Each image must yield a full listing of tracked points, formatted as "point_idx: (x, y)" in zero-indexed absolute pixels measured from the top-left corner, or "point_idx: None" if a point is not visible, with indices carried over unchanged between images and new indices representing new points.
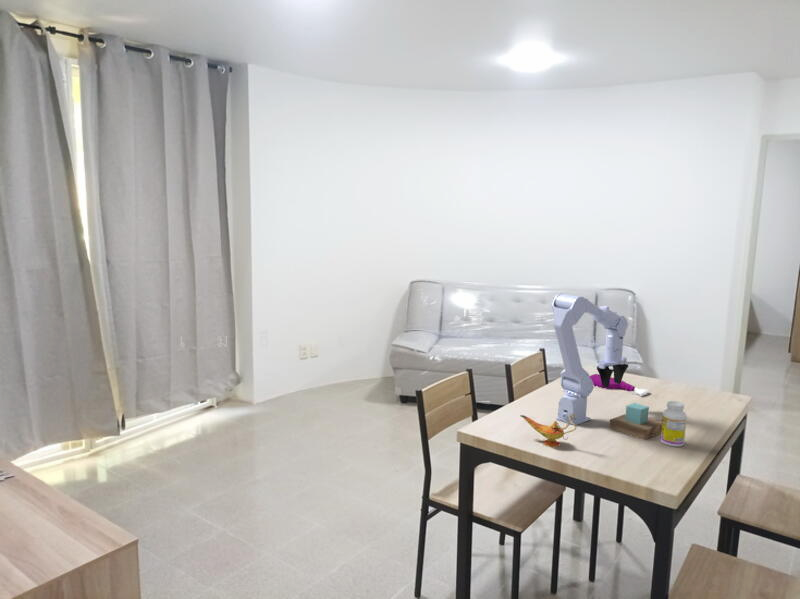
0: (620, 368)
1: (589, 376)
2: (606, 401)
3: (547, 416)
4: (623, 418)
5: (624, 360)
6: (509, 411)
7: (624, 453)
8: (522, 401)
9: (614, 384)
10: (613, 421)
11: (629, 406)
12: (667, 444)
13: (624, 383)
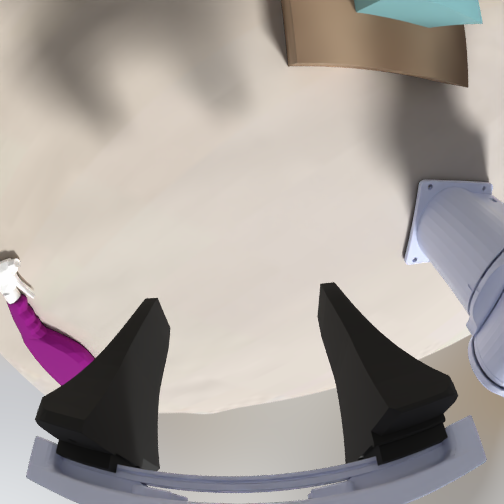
0: (123, 417)
1: None
2: (160, 287)
3: None
4: (414, 43)
5: (63, 477)
6: (466, 329)
7: None
8: None
9: (57, 346)
10: (465, 69)
11: (476, 6)
12: None
13: (28, 335)
